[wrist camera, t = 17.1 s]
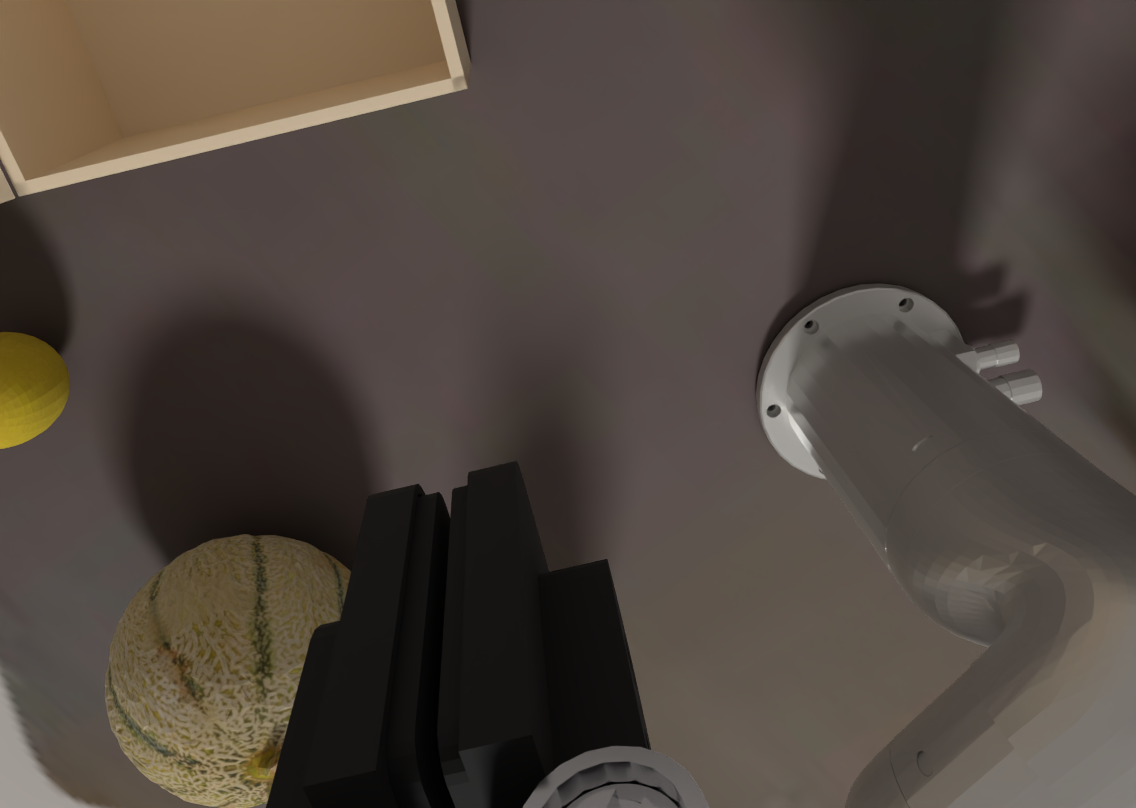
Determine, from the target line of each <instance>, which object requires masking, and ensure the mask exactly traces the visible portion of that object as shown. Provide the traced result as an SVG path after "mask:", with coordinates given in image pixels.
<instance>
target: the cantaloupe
mask: <svg viewBox="0 0 1136 808" xmlns="http://www.w3.org/2000/svg"><path fill="white" fill-rule="evenodd" d="M350 574H351V571H350V570H349V569H348V568H346V567H345V566H344V565H343V564H342V563H340V562H339V561H338V560H336V559H335V558H334V557H333V556H330V555H329V554H327V553H325V552H321V551H320V550H318V549H317V548H315V547H314V546H312V545H310V544H309V543H306V542H302V541H299V540H295V539H291V538H286V537H282V536H277V535H259V536H252V535H249V534H242V535H238V536H232V537H225V538H219V539H213V540H210V541H208V542H206V543H203V544H201V545H199V546H197V547H196V548H194V549H192V550H189V551H186V552H185V553H183V554H181V555H180V556H178V557H177V558H175V559H174V560H173V561H172V562H171V563H170V564H169V565H168V566H166V567H164V568H163V569H162V570H160V571H159V572H158V573H157V574H156V575H154V576H153V577H152V578H151V579H150V580H149V581H148V582H147V583H146V584H145V585H144V586H143V587H142V588H141V589H140V590H139V591H138V592H137V594H136V595H135V597H134V598H133V599H132V600H131V601H130V603H129V605H128V607H127V609H126V611H125V613H124V615H123V617H122V618H121V619H120V621H119V623H118V625H117V627H116V631H115V634H114V636H113V640H112V643H111V645H110V660H109V664H108V669H107V672H106V681H105V687H106V689H105V700H106V707H107V712H108V717H109V721H110V725H111V729H112V731H113V732H114V734H115V735H116V737H117V739H118V741H119V744H120V747H121V749H122V751H123V752H124V753H125V754H126V755H127V756H128V758H129V759H130V760H131V761H132V762H133V764H134V765H135V766H136V767H137V768H138V770H139V771H140V772H141V773H143V774H144V775H145V776H146V777H147V778H148V779H149V780H151V781H152V782H154V783H156V784H158V785H160V786H161V787H162V788H163V789H166V790H167V791H168V792H170V793H172V794H174V795H176V796H178V797H179V798H181V799H183V800H184V801H186V802H191V803H196V804H200V805H205V806H215V807H219V808H247V807H253V806H257V805H261V804H266V803H267V802H268V798H269V794H270V790H271V787H272V783H273V779H274V775H275V772H276V768H277V764H278V760H279V756H280V753H281V749H282V745H283V741H284V738H285V734H286V730H287V726H288V722H289V719H290V715H291V711H292V707H293V704H294V700H295V696H296V692H297V688H298V685H299V681H300V677H301V673H302V670H303V666H304V662H305V658H306V654H307V651H308V647H309V643H310V639H311V637H312V635H313V632H314V630H315V629H316V628H317V627H318V626H320V625H322V624H327V623H331V622H335V621H340V618H341V614H342V610H343V605H344V601H345V596H346V592H347V587H348V583H349V579H350Z"/></svg>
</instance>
